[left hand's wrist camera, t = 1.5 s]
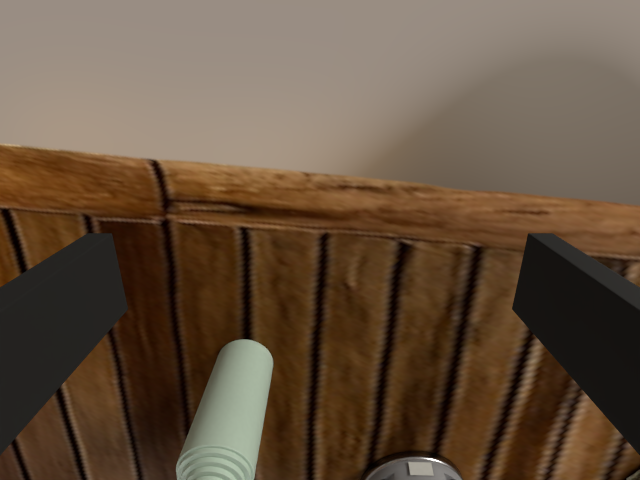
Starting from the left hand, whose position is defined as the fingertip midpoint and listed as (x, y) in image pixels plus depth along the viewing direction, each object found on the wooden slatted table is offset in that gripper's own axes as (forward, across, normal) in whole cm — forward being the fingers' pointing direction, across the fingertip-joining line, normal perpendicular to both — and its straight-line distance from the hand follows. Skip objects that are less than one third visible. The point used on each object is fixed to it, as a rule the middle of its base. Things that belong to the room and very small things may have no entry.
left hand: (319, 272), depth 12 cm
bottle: (+28, +9, +26) cm, 40 cm away
